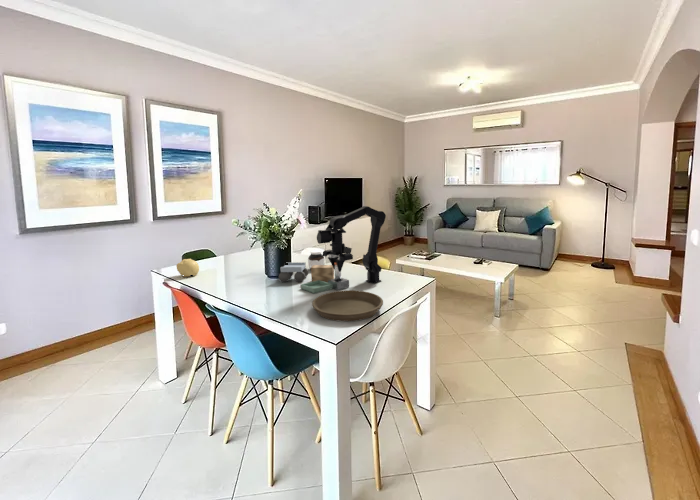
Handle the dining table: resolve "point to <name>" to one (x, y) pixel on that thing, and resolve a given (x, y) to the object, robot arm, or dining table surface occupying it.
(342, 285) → the holder
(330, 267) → the block
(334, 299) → the plant saucer
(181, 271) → the sculpture
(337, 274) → the pin
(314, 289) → the tray
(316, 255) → the spread jar
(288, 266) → the trolley
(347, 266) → the dining table surface
